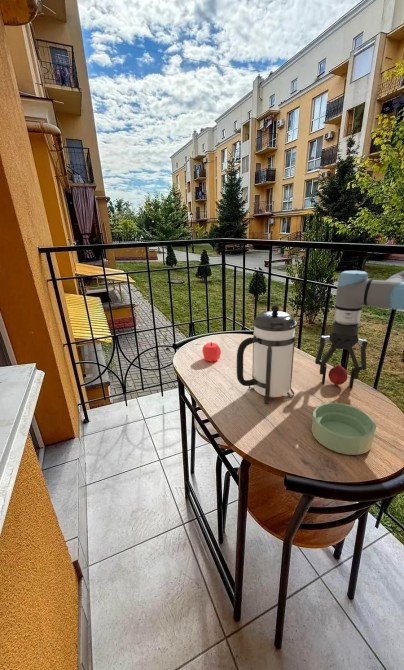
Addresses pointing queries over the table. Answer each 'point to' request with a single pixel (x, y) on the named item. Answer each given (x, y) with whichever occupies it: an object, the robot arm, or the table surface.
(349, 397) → the table surface
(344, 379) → the onion
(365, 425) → the bowl
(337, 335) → the robot arm
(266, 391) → the coffee press
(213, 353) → the apple
